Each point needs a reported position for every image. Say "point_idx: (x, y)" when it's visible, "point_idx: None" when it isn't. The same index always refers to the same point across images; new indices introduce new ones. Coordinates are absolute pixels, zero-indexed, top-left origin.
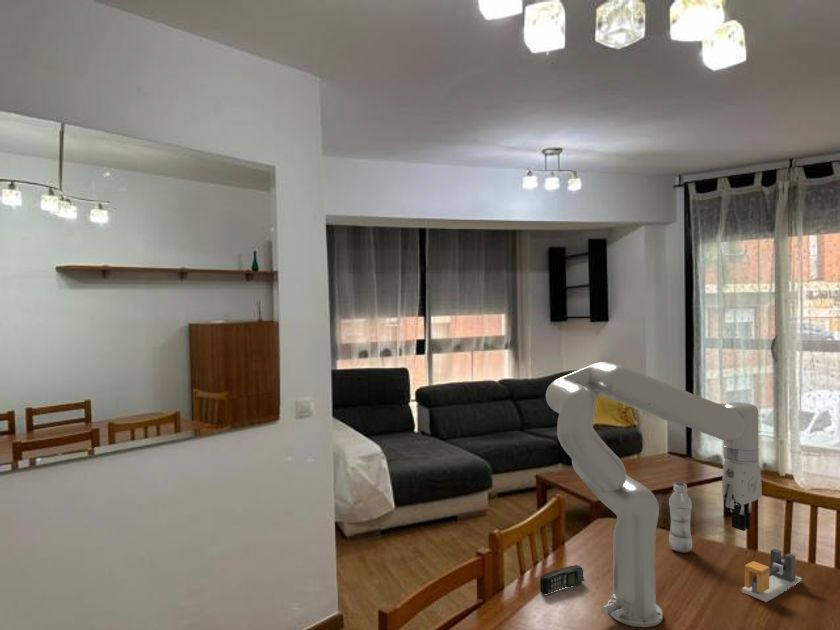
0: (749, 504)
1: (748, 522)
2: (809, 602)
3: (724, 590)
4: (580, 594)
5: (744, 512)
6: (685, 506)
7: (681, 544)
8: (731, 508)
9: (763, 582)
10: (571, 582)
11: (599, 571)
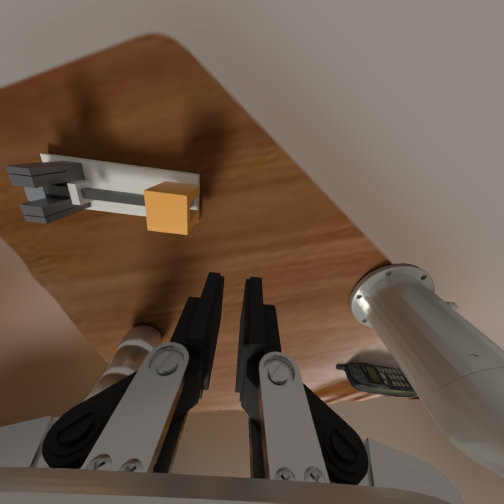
0: (153, 416)
1: (216, 295)
2: (121, 105)
3: (218, 241)
4: (378, 351)
5: (203, 359)
6: None
7: (154, 341)
8: (419, 460)
9: (183, 188)
10: (371, 370)
11: (302, 363)
